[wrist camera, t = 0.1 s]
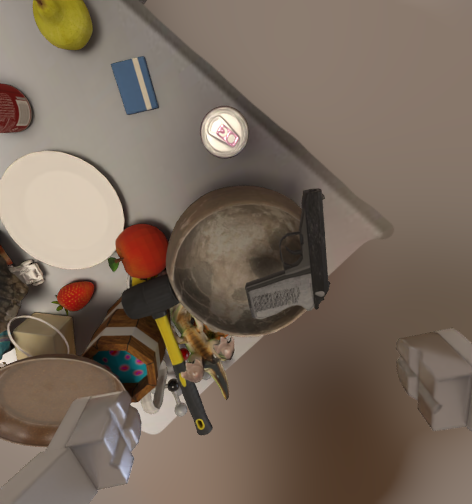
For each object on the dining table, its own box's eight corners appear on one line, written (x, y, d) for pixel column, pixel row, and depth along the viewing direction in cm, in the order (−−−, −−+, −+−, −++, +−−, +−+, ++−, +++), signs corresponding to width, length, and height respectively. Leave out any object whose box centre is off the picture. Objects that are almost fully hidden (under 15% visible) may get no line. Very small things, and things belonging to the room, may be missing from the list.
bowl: (272, 310, 63) (285, 362, 50) (160, 272, 59) (140, 318, 45) (328, 205, 55) (362, 233, 41) (202, 153, 51) (194, 163, 37)
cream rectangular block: (36, 309, 63) (48, 387, 70) (10, 331, 56) (26, 414, 63) (74, 314, 63) (82, 391, 70) (53, 336, 56) (64, 418, 63)
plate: (26, 266, 58) (18, 271, 56) (-12, 151, 50) (-22, 152, 48) (135, 262, 58) (132, 267, 56) (116, 147, 50) (112, 148, 48)
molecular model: (176, 391, 72) (141, 372, 67) (212, 356, 72) (179, 334, 67) (182, 421, 65) (143, 402, 60) (221, 382, 64) (186, 359, 59)
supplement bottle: (130, 268, 59) (173, 262, 59) (137, 288, 61) (178, 283, 61) (123, 281, 54) (170, 275, 54) (131, 303, 56) (175, 297, 56)
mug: (94, 305, 62) (56, 358, 48) (153, 282, 60) (132, 330, 46) (141, 373, 69) (121, 435, 55) (195, 354, 67) (188, 413, 53)
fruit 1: (107, 48, 45) (69, 23, 34) (64, 60, 45) (12, 40, 34) (88, -9, 42) (39, -56, 31) (42, 5, 43) (-22, -37, 32)
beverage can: (228, 157, 51) (229, 169, 38) (199, 134, 50) (189, 138, 36) (250, 127, 50) (259, 128, 36) (220, 102, 48) (219, 93, 34)
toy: (168, 316, 47) (161, 293, 61) (174, 442, 49) (165, 392, 63) (240, 307, 50) (217, 288, 65) (242, 425, 53) (220, 382, 67)
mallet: (211, 443, 51) (157, 451, 52) (216, 420, 57) (168, 428, 58) (168, 275, 49) (113, 287, 50) (178, 269, 55) (129, 281, 56)
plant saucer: (-36, 345, 40) (-50, 365, 37) (129, 339, 46) (127, 356, 43) (-4, 433, 50) (-14, 455, 47) (128, 419, 56) (126, 438, 53)
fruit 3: (184, 259, 50) (126, 285, 45) (169, 271, 58) (119, 294, 53) (159, 208, 51) (98, 228, 46) (148, 227, 59) (96, 246, 54)
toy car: (51, 278, 59) (40, 288, 55) (14, 289, 60) (0, 300, 56) (38, 256, 57) (25, 265, 53) (0, 268, 58) (-16, 278, 54)
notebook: (112, 65, 46) (110, 63, 45) (144, 57, 45) (142, 55, 44) (128, 114, 48) (126, 114, 47) (158, 107, 48) (157, 107, 47)
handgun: (229, 203, 39) (321, 186, 39) (250, 314, 46) (329, 302, 45) (229, 207, 37) (326, 190, 37) (251, 323, 44) (334, 310, 43)
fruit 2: (84, 269, 59) (50, 292, 59) (79, 281, 55) (42, 306, 54) (103, 288, 62) (70, 310, 61) (100, 301, 57) (64, 325, 57)
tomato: (181, 328, 63) (198, 333, 57) (197, 299, 65) (214, 300, 59) (210, 345, 66) (228, 351, 60) (224, 316, 69) (243, 319, 63)
